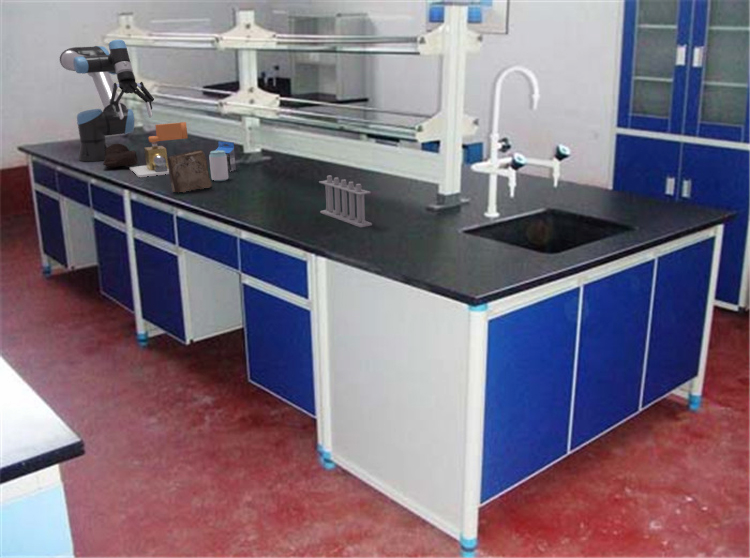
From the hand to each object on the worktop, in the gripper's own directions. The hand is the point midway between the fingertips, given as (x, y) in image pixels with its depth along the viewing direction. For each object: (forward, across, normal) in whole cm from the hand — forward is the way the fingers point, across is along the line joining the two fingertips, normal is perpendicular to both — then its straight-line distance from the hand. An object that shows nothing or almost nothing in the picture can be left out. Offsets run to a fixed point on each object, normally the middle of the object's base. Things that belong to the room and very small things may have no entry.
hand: (136, 117), depth 355 cm
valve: (+28, 0, -7) cm, 29 cm away
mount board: (+28, 0, -7) cm, 29 cm away
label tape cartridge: (+38, +22, -28) cm, 52 cm away
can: (+46, +10, -43) cm, 63 cm away
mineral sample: (+50, -7, -51) cm, 72 cm away
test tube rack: (+85, +11, -122) cm, 149 cm away
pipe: (+19, -8, +10) cm, 23 cm away
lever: (+17, +6, -14) cm, 23 cm away
